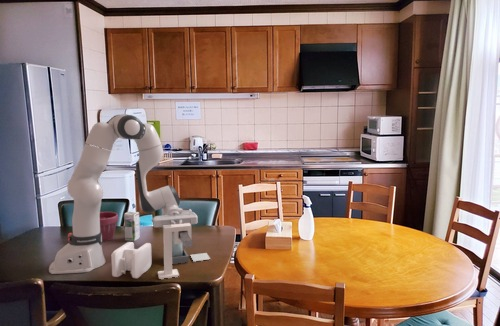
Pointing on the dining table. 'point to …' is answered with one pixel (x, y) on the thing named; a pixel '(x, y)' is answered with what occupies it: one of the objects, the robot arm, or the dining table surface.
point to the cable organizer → (131, 260)
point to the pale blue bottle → (177, 249)
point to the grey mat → (200, 257)
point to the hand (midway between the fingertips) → (177, 225)
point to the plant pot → (108, 224)
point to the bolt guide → (167, 238)
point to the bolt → (185, 238)
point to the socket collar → (181, 258)
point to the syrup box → (132, 226)
